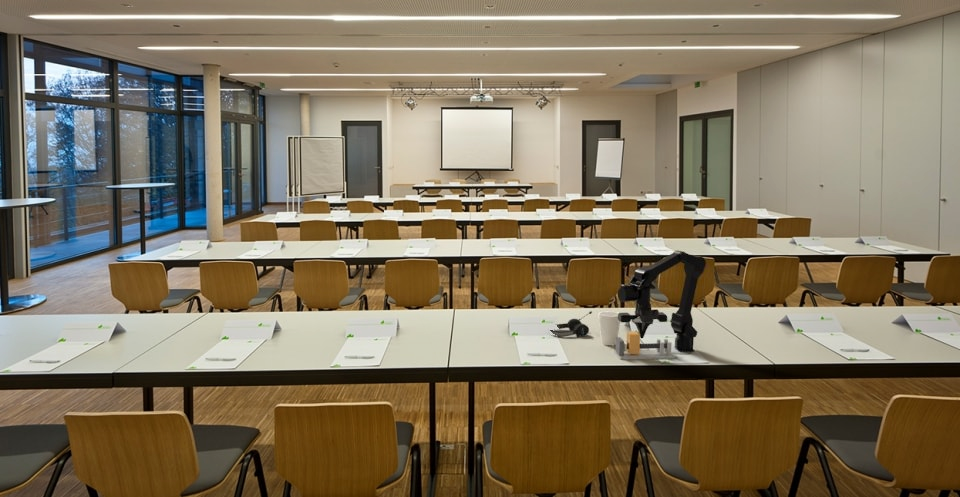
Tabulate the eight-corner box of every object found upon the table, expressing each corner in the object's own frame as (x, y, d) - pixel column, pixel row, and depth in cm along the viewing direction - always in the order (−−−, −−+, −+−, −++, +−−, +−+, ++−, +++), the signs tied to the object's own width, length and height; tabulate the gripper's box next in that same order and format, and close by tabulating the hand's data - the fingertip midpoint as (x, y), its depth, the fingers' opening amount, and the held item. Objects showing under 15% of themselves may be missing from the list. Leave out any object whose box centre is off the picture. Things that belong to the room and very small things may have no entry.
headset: (596, 313, 319) (552, 321, 316) (597, 334, 320) (554, 342, 317) (585, 307, 332) (544, 314, 329) (587, 327, 334) (546, 334, 330)
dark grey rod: (668, 348, 293) (668, 341, 292) (670, 350, 290) (670, 343, 289) (618, 349, 292) (618, 341, 291) (619, 351, 289) (620, 343, 288)
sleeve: (636, 350, 293) (636, 331, 292) (639, 354, 288) (640, 334, 287) (626, 350, 293) (626, 331, 292) (629, 354, 288) (630, 334, 287)
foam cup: (603, 347, 303) (604, 317, 301) (594, 341, 311) (594, 312, 310) (624, 345, 305) (624, 315, 303) (614, 339, 314) (615, 310, 312)
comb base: (666, 351, 297) (667, 335, 296) (674, 358, 287) (675, 341, 286) (614, 352, 295) (614, 336, 294) (620, 359, 285) (620, 342, 284)
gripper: (625, 304, 279) (623, 344, 281) (672, 304, 280) (670, 343, 282) (617, 298, 290) (616, 336, 292) (663, 298, 291) (662, 335, 293)
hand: (641, 338), depth 290 cm, fingers closed
